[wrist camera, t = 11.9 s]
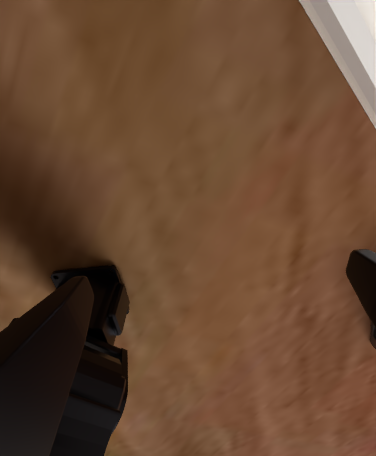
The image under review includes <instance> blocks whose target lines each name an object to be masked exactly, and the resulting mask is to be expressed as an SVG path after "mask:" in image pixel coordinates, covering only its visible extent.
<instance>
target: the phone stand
mask: <svg viewBox="0 0 376 456" xmlns="http://www.w3.org/2000/svg"><path fill="white" fill-rule="evenodd" d="M370 342H371V344H372V346H373V347H374V348H375V349H376V327H375V326H374V324H373V323H372V321H371V338H370Z"/></svg>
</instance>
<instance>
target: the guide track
mask: <svg viewBox="0 0 376 456" xmlns="http://www.w3.org/2000/svg"><path fill="white" fill-rule="evenodd" d="M299 1H300V3H301V4H302V6H303V8H304V10H305V11H306V13H307V15H308V16H309V18H310V20H311V21H312V23H313V25H314V26H315V28H316V30H317V31H318V33H319V35H320V36H321V38H322V40H323V41H324V43H325V45H326V46H327V48H328V50H329V51H330V53H331V55H332V56H333V58H334V60H335V61H336V63H337V65H338V66H339V68H340V70H341V72H342V73H343V75H344V77H345V78H346V80H347V82H348V83H349V85H350V87H351V88H352V90H353V92H354V93H355V95H356V97H357V98H358V100H359V102H360V103H361V105H362V107H363V108H364V110H365V112H366V113H367V115H368V117H369V118H370V120H371V122H372V123H373V125H374V127H375V128H376V0H299Z"/></svg>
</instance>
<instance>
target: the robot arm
mask: <svg viewBox="0 0 376 456" xmlns="http://www.w3.org/2000/svg"><path fill="white" fill-rule="evenodd" d="M110 270H112V271H113V272H112V271H110ZM346 274H347V277H348V279H349V281H350V283H351V285H352V287H353V289H354V290H355V292H356V294H357V296H358V298H359V300H360V302H361V304H362V306H363V307H364V309H365V311H366V313H367V315H368V316H369V318H370V320H371V321H372V323H373V324H374V326H375V327H376V253H375V252H373V251H370V250H367V249H360V250H353V251H352V252H351V254H350V257H349V260H348V264H347V268H346ZM57 276H58V277H57ZM51 279H52V281H53V283H54V285H55V287H56V290H55V291H54V292H53V293H51V294H50V295H49V296H47V297H46V298H45V299H43V300H42V301H41V302H40V303H38V304H37V305H36V306H34V307H33V308H32V309H30V310H29V311H28V312H26V313H25V314H24V315H22V316H21V317H20V318H14V319H13V320H12V322H11V323H10V324H9V326H8V327H6V328H5V329H4V330H3V331H1V332H0V456H104V453H105V450H106V447H107V444H108V441H109V439H110V436H111V434H112V432H113V431H114V430H115V428H116V426H117V424H118V422H119V420H120V418H121V416H122V413H123V410H124V407H125V404H126V399H127V393H128V358H127V350H125V349H123V348H121V349H120V348H118V347H115V346H113V345H114V341H115V338H116V336H117V335H120V334H121V333H122V330H123V326H124V322H125V318H126V314H128V313H129V299H128V295H127V292H126V289H125V286H124V284H123V283H121V280H120V277H119V274H118V270H117V268H116V267H115V266H101V267H91V268H81V269H71V270H60V271H54V272H53V273H52V275H51Z"/></svg>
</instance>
